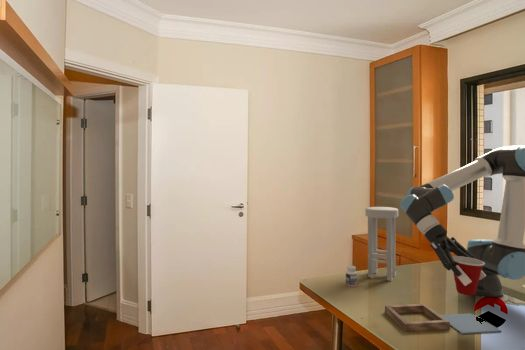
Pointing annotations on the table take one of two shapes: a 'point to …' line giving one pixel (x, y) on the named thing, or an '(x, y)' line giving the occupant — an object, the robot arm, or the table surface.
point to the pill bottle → (351, 276)
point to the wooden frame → (418, 325)
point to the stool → (372, 240)
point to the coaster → (469, 324)
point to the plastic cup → (468, 274)
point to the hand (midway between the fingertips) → (476, 280)
